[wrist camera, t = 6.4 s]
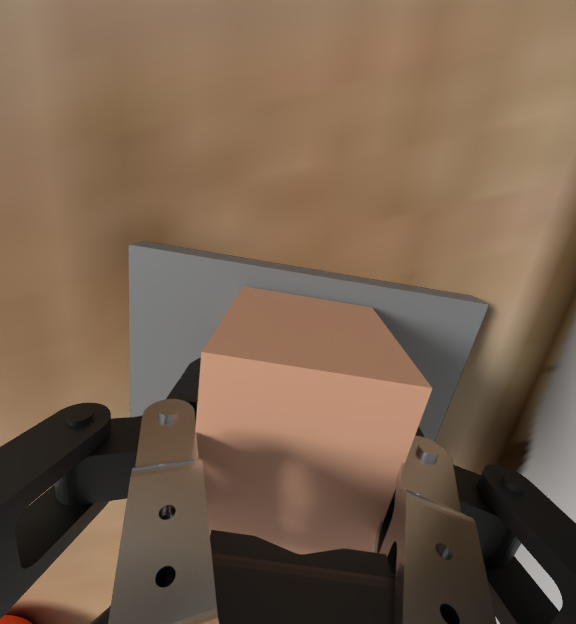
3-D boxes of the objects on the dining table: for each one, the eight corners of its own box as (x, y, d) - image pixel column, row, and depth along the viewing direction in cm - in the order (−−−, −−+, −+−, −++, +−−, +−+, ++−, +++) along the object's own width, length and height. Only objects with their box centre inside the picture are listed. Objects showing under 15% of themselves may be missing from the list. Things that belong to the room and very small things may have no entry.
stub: (244, 286, 12) (201, 351, 6) (371, 307, 12) (433, 388, 7) (224, 450, 14) (183, 592, 9) (329, 465, 15) (348, 614, 9)
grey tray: (143, 241, 13) (-28, 280, 6) (472, 295, 13) (657, 390, 6) (140, 629, 21) (70, 822, 15) (337, 655, 22) (355, 854, 15)
